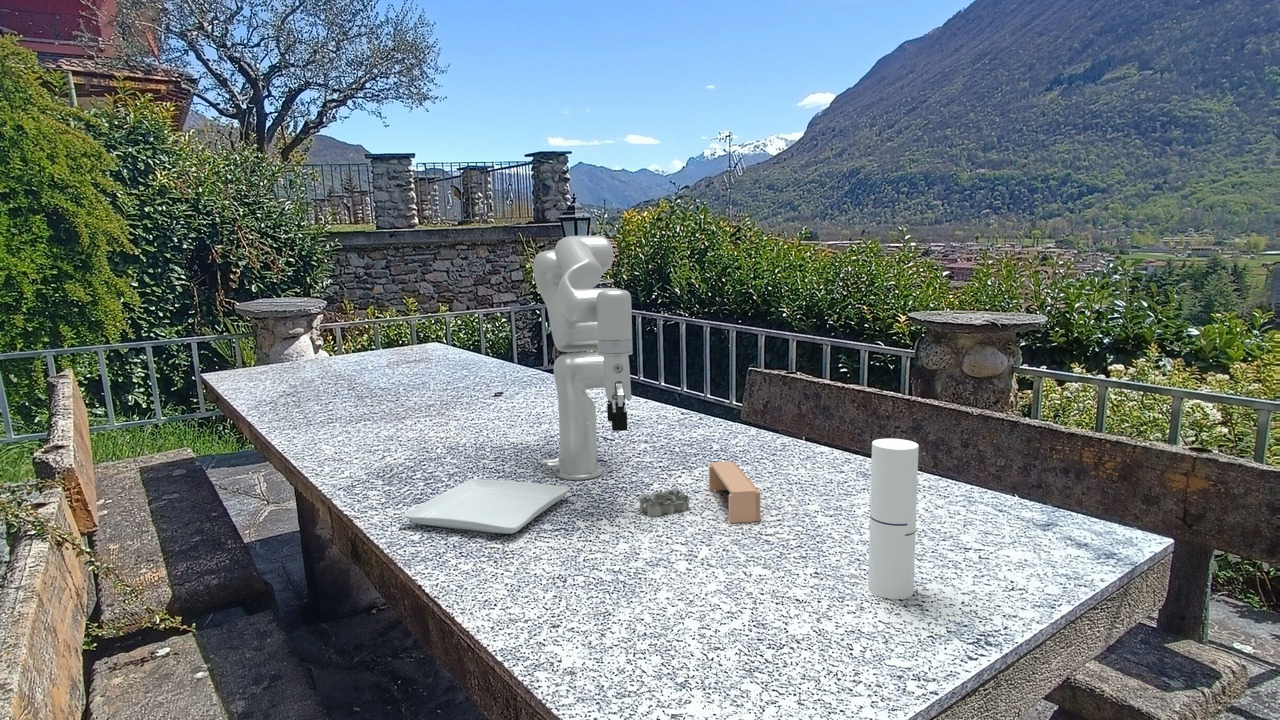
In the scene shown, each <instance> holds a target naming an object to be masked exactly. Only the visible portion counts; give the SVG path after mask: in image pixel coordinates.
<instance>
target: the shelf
mask: <svg viewBox="0 0 1280 720" xmlns="http://www.w3.org/2000/svg"><path fill="white" fill-rule="evenodd" d="M709 490H710V491H713V492H715V491H714V490H728V491H727V492H729V494H728V523H729V522H730V523H732V524H740V523H739V522H749V523H758V522H757V521H760V522H761V491H760V490H759V489H758V488H757V486H755V484H754V483H753V482H752V481H751V480H750V478H749V477H748V476H747V475H746V474H745V472H744V471H743V470H742V469H741V468H740V466H739V465H738V464H737V463H736V462H732V461H716V462H715V461H713V462H712V461H711V462H710V465H708V491H709ZM710 491H709V492H710ZM752 521H753V522H752ZM754 521H756V522H754ZM737 522H738V523H737ZM730 523H729V524H730Z"/></svg>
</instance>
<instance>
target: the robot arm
mask: <svg viewBox="0 0 1280 720" xmlns="http://www.w3.org/2000/svg"><path fill="white" fill-rule="evenodd" d="M613 260H614V249H613V246H612V244H611V242H610V240H609V239H608V238H606V237H605V236H602V235H569V236H565V237H562V238H561V239H560V240H558V242H557V243H556V244H555V247H554V249H549V250H544V251H541V252H540V253H537V255H536V256H535V257H534V259H533V264H532V267H533V268H532V269H533V276H534V281H535V284H536V287H537V290H538V292H539V294H540V296H541V297H542V299H543V301H544V304H545V307H546V310H547V316H548V319H549V326H550V331H551V336H552V340H553V343H554V345H555V348H556V349H557V350H558V351H560V352H567V353H565V354H562V355H560V356H558V357H557V358H556V359H555V360H554V363H553V377H554V381H555V387H556V393H557V401H558V407H557V408H558V423H559V424H558V426H559V427H558V430H559V454H558V457H555V458H553V459H552V458H543V459H542V466H543V467H547V469H552V468H555V469H554V475H555V476H556V477H558V478H560V479H563V480H568V481H569V480H571V481H581V480H590V479H594V478H598V477H600V476H601V475H603V473H604V467H603V466H602V465H601V464H598V446H597V444H598V440H597V416H596V415H597V408H596V404H595V402H594V401H593V399H592V398H591V397H590V396H589V395H588V394H587V392H586V391H587V390H592V389H600V388H601V389H602V388H604V390H605V391H604V393H605V396H606V398H607V404H606V405H607V406H606V410H607V412H606V413H607V421H608V422H609V423H610V422H611V430H612V431H613V432H622V431H627V430H628V412H627V405H626V400H627V402H631V400H632V388H631V387H632V386H631V370H630V369H631V368H630V358H629V356H630V355H634V354H633V323H632V322H633V321H632V318H633V317H632V316H633V315H632V295H631V293H630V292H629V291H628V290H626V289H621V288H615V287H605V288H603V287H602V288H600V287H598V288H595V287H596V286H597V285H598V284H599V283H600V281H601V279H602V276H603V274H605V273H606V272H608V269H610V267H611V266H612V264H613Z"/></svg>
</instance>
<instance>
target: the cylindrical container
mask: <svg viewBox="0 0 1280 720" xmlns="http://www.w3.org/2000/svg"><path fill="white" fill-rule="evenodd" d="M919 448H920V447H919V444H918V443H917V442H915V441H912V440H908V439H902V438H878V439H875V440H873V441H872V442H871V465H870V466H871V469H870V470H871V471H870V473H871V475H870V503H869V504H870V509H869V515H870V516H869V537H868V538H869V543H868V545H869V547H868V549H869V550H868V575H867V577H868V578H867V579H868V580H867V581H868V582H867V587H868V590H870V591H871V592H872V594H873V595H874V594H875V596H877V597H880V598H882V597H884V598H883V599H886V598H888V599H887V600H893V599H901V600H906V599H909V598H911V597H912V596H913V595H914V582H915V581H914V580H915V579H914V578H915V560H916V559H915V556H916V555H915V554H916V553H915V551H916V549H915V548H916V530H917V528H916V527H917V505H918V504H917V503H918V502H917V500H918V499H917V498H918V478H919V477H918V475H919V473H918V472H919V471H918V470H919V469H918V468H919ZM870 591H869V592H870Z"/></svg>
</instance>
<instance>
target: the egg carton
mask: <svg viewBox="0 0 1280 720" xmlns="http://www.w3.org/2000/svg"><path fill="white" fill-rule="evenodd" d="M637 500H638V501H639V511H640V513H641V512H642V513H647V516H648V517H655V516H656V518H658V516H660V517H662V515H664V513H668V515H672V513H673V514H675V512H678V511H679V510H680V511H679V512H687V511H688V509H689V508H690V505H689V503H690V501H692V500H693V499H692V498H691V497H690V498H689V496H688V494H685V493H684V492H683V491H682V490H680V489H679V488H678V487H673V488H672V489H667V490H664V491H662V490H660V491H658V492H653V493H642V494H640V495H639V496H638V497H637ZM687 508H688V509H687ZM686 510H687V511H686Z"/></svg>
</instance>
